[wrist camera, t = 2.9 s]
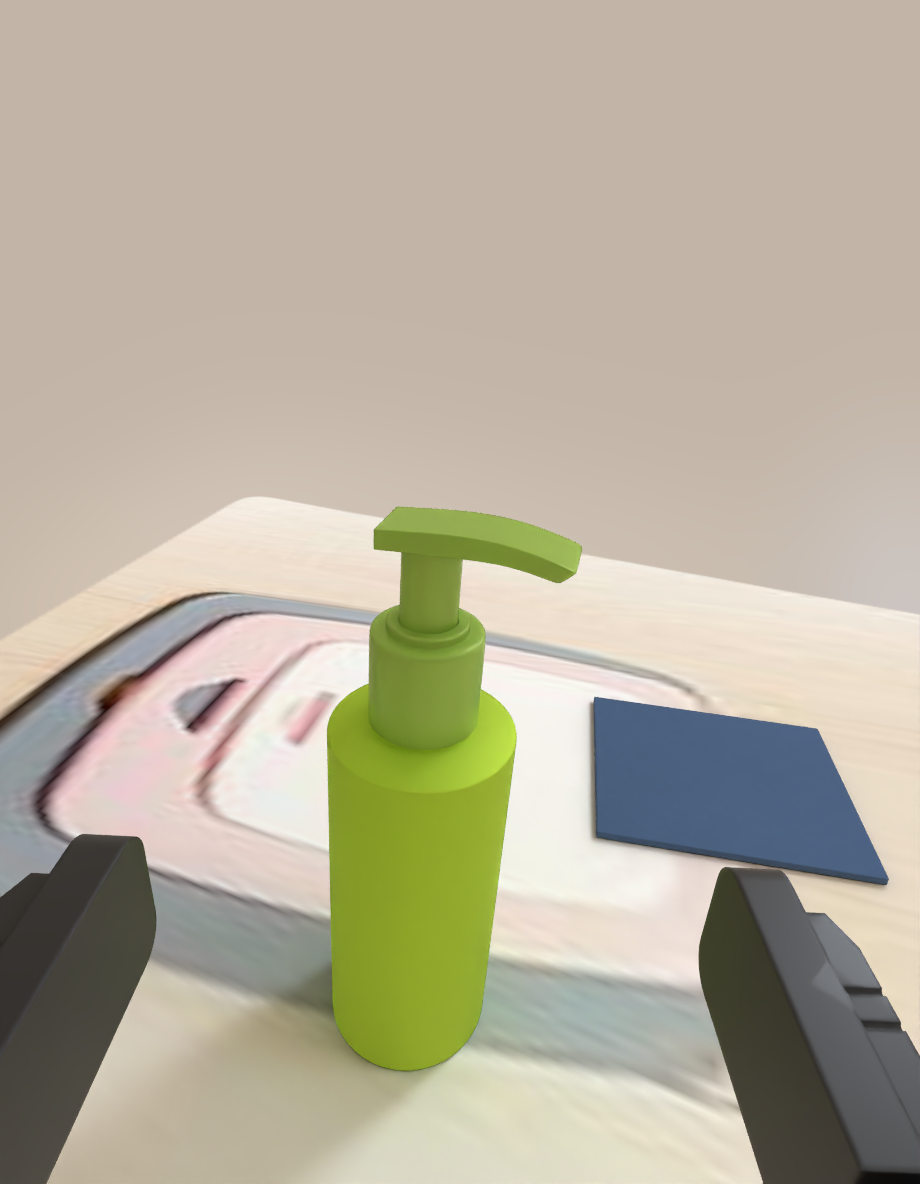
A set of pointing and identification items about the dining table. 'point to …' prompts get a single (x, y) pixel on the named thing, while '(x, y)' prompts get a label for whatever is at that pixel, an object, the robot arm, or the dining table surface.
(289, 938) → the dining table surface
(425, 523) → the soap dispenser
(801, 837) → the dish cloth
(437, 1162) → the dining table surface
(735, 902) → the robot arm
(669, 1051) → the dining table surface
